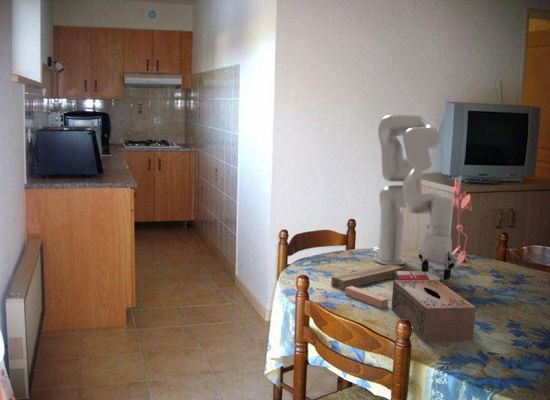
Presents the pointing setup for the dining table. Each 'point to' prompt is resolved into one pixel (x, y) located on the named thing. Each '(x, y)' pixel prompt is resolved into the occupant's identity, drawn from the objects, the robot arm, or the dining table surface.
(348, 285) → the brown wooden plank
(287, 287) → the dining table surface
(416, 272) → the calculator
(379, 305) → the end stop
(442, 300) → the tissue box cover
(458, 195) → the leafy plant stem
